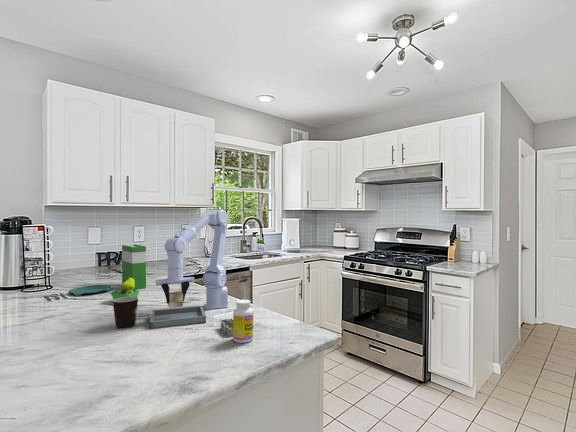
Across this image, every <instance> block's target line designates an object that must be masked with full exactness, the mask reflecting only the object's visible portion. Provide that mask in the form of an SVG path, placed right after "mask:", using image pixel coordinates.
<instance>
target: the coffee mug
mask: <svg viewBox="0 0 576 432" xmlns="http://www.w3.org/2000/svg"><path fill="white" fill-rule="evenodd" d="M138 302H139V297H121V298H116V299H114V300H113V299H112V308H113V315H114V322H115V328H116V329H117V330H118V329H119V330H124V329H125V330H126V329H129V328H133V327H134V326H136V320H137V319H136V318H137V312H138V311H137V309H138Z"/></svg>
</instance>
